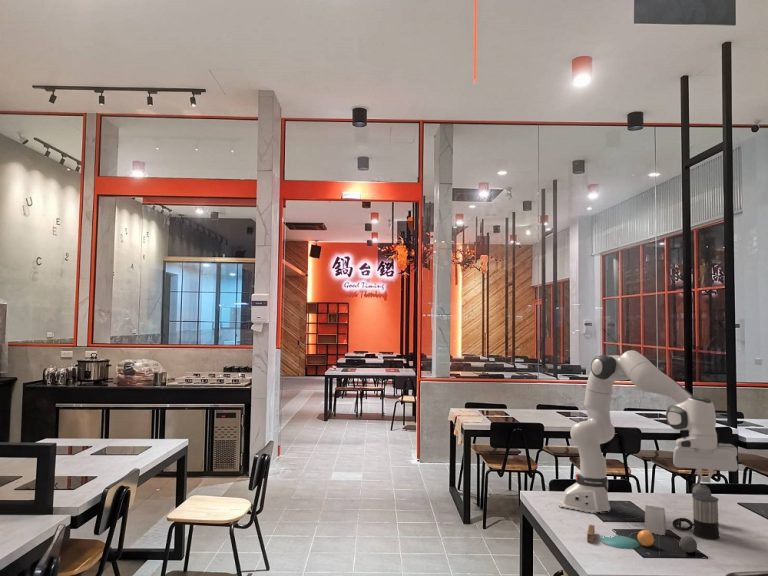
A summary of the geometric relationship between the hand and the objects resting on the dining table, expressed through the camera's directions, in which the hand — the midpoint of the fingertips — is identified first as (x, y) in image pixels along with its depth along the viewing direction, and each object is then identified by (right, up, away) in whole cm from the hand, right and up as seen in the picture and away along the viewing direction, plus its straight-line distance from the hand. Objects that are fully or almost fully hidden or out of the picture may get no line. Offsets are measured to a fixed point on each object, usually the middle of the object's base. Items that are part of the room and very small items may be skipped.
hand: (705, 482), depth 202 cm
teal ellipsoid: (-27, -26, +10) cm, 39 cm away
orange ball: (-19, -23, +6) cm, 30 cm away
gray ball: (-6, -23, +1) cm, 23 cm away
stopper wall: (-36, -26, +13) cm, 46 cm away
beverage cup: (+19, -29, +35) cm, 50 cm away
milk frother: (+8, -28, +22) cm, 36 cm away
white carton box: (-8, -27, +21) cm, 35 cm away
